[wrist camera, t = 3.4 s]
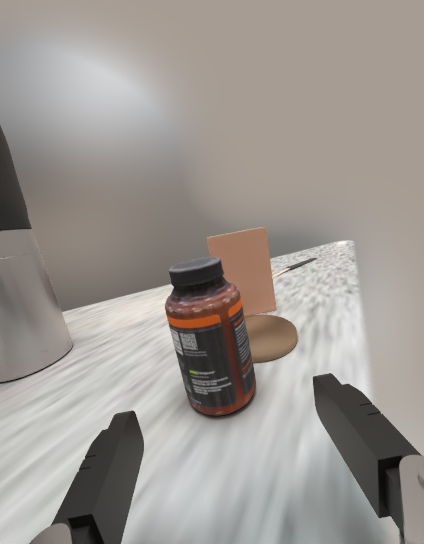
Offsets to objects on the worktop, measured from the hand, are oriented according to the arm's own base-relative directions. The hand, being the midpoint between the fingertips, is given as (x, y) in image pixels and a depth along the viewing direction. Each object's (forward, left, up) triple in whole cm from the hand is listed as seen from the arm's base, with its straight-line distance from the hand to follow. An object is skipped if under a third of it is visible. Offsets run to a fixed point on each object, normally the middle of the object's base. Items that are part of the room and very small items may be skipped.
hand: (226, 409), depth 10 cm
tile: (-16, +17, -6) cm, 24 cm away
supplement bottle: (-7, +4, -6) cm, 10 cm away
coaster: (-10, +12, -6) cm, 17 cm away
